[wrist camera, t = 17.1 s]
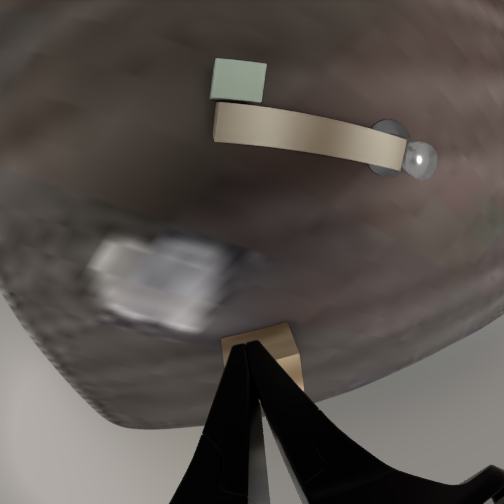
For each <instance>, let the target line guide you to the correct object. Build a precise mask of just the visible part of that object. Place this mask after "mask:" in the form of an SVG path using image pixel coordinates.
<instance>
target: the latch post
mask: <svg viewBox="0 0 504 504" xmlns="http://www.w3.org/2000/svg"><path fill="white" fill-rule="evenodd" d="M266 65H267V64H263V63H256V62H249V61H240V60H231V59H219V58H216V60H215V64H214V67H213V74H212V82H211V91H210V99H215V100H228V101H239V102H248V103H253V102H262V95H263V87H264V80H265V72H266Z"/></svg>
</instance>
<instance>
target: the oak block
mask: <svg viewBox="0 0 504 504" xmlns="http://www.w3.org/2000/svg"><path fill="white" fill-rule="evenodd" d="M254 340H259V341H260V342H261V344H262V345H263V346H264V347H265V348H266V349H267V351H268V352H269V353H270V354H271V355H272V356H273V358H274V359H275V360H276V361H277V362H278V363H279V364H280V366H281V367H282V368H283V369H284V370H285V371H286V373H287V374H288V375H289V376H290V377H291V378H292V379H293V380H294V382H295V383H296V384H297V385H298V386H299V387H300V388H301V389H302V391H304V386H303V379H302V371H301V364H300V356H299V352H298V349H297V346H296V344H295V341H294V338H293V336H292V333H291V330H290V328H289V325H288V322H285V323H281V324H278V325H274V326H270V327H266V328H263V329H259V330H255V331H251V332H247V333H243V334H239V335H234V336H230V337H226V338H222V339H221V343H222V351H223V360H224V368H225V365H226V362H227V359H228V356H229V353H230V350H231V348H232V346H233V345H236V344H240V343H245V344H246V343H247V342H249V341H254Z"/></svg>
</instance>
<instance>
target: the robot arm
mask: <svg viewBox="0 0 504 504" xmlns="http://www.w3.org/2000/svg"><path fill="white" fill-rule="evenodd" d="M260 403H261V406H262V408H263V411H264V414H265V416H266V419H267V421H268V423H269V426H270V429H271V431H272V434H273V436H274V438H275V441H276V443H277V445H278V448H279V451H280V453H281V455H282V457H283V460H284V462H285V465H286V467H287V469H288V472H289V474H290V476H291V479H292V481H293V483H294V485H295V488H296V490H297V492H298V495H299V497H300V499H301V501H302V503H303V504H504V470H503V469H500V468H498V467H496V466H494V465H489V466H487V467H486V468H484V469H483V470H481V471H480V472H478V473H477V474H475V475H474V476H472V477H470V478H469V479H467V480H465V481H464V482H462V483H460V484H459V485H448V484H443V483H439V482H435V481H432V480H428V479H424V478H421V477H418V476H414V475H411V474H408V473H405V472H402V471H399V470H396V469H394V468H392V467H390V466H388V465H386V464H385V463H383V462H382V461H380V460H379V459H377V458H376V457H375V456H373V455H372V454H371V453H369V452H368V451H367V450H365V449H364V448H363V447H361V446H360V445H358V444H357V443H356V442H355V441H353V440H352V439H350V438H349V437H348V436H347V435H346V434H345V433H343V432H342V431H341V430H340V429H339V428H338V427H336V426H335V424H334V423H332V422H331V421H330V420H329V419H328V418H327V417H326V416H325V414H324V413H323V412H322V411H321V410H319V408H318V407H317V406H316V405H315V404H314V403H313V402H312V400H311V399H310V398H309V397H308V396H307V395H306V394H305V393H304V392H303V391H302V389H301V388H300V387H299V386H298V385H297V384H296V383H295V382H294V380H293V379H292V378H291V377H290V376H289V375H288V374H287V373H286V371H285V370H284V369H283V368H282V367H281V366H280V364H279V363H278V362H277V361H276V360H275V359H274V358H273V356H272V355H271V354H270V353H269V352H268V351H267V349H266V348H265V347H264V346H263V345H262V344H261V342H260V341H259V340H254V341H249V342H247V343H246V344H245V343H240V344H236V345H233V346H232V348H231V350H230V353H229V356H228V359H227V362H226V365H225V368H224V371H223V374H222V377H221V380H220V383H219V386H218V389H217V391H216V394H215V397H214V400H213V403H212V406H211V409H210V412H209V415H208V418H207V420H206V423H205V426H204V429H203V432H202V434H203V435H201V438H200V440H199V443H198V446H197V448H196V451H195V453H194V456H193V458H192V461H191V463H190V465H189V467H188V469H187V471H186V473H185V475H184V477H183V479H182V481H181V482H180V484H179V486H178V488H177V490H176V492H175V494H174V496H173V497H172V499H171V501H170V503H169V504H270V497H269V487H268V476H267V467H266V457H265V446H264V435H263V425H262V414H261V406H260Z"/></svg>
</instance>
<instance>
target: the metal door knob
mask: <svg viewBox="0 0 504 504" xmlns="http://www.w3.org/2000/svg"><path fill="white" fill-rule="evenodd" d="M370 129H373V130H376V131H380V132H383V133H387V134H390V135H393V136H396V137H399V138H403V139H406V140H407V142H406V147H405V151H404V156H403V160H402V165H401V169H400V171H399V170H395V169H391V168H386V167H382V166H378V165H373V164H369V163H367V164H368V166H369V168H370V169H371V170H372V171H373V172H374V173H376V174H378V175H380V176H383V177H392V176H395V175H397V174H399V173H400V172H404V173H406V174H408V175H410V176H413V177H415V178H417V179H419V180H426V179H428V178H430V177H431V176H432V175H433V173H434V171H435V169H436V166H437V154H436V151H435V149H434V148H433V147H432V146H431V145H429V144H427V143H424V142H420V141H417V140H414V139H411V138H410V135H409V133H408V131H407V130H406V128H405V127H404V126H403V125H402V124H401V123H399V122H397V121H395V120H389V119H387V120H381V121H379V122H377V123H376V124H374V125H373V126H372V127H371V128H370Z"/></svg>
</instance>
